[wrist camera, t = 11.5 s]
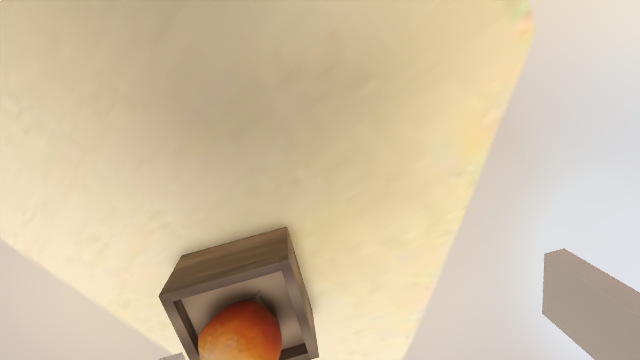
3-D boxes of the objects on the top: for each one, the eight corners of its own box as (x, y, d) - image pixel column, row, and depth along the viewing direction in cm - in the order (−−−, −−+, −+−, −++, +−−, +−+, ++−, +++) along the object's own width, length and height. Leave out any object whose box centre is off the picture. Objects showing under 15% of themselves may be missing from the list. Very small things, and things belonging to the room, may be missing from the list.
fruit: (311, 321, 33) (281, 404, 27) (263, 327, 37) (227, 400, 31) (264, 271, 30) (218, 350, 24) (218, 284, 35) (170, 354, 29)
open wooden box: (181, 255, 37) (158, 296, 30) (286, 226, 37) (288, 259, 30) (217, 338, 41) (205, 391, 34) (312, 310, 42) (319, 357, 34)
